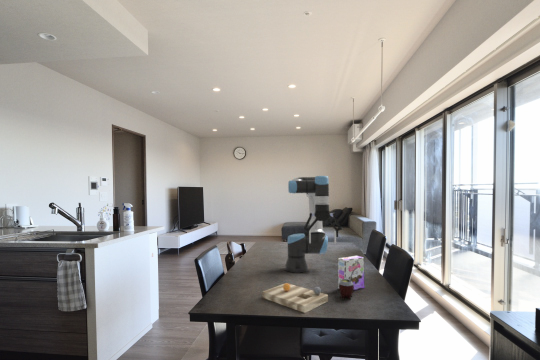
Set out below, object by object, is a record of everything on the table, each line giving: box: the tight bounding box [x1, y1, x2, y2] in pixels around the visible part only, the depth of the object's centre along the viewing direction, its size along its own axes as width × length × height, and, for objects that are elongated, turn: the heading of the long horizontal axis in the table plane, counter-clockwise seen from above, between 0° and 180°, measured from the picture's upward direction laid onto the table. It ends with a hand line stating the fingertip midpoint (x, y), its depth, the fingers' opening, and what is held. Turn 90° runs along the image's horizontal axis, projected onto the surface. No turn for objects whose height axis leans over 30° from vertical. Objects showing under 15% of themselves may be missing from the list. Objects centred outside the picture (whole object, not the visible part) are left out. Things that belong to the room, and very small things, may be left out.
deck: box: [262, 283, 329, 314], centre depth 139 cm, size 26×18×3 cm
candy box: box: [337, 255, 365, 291], centre depth 154 cm, size 14×6×16 cm, turn 117°
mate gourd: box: [339, 268, 357, 301], centre depth 142 cm, size 8×8×15 cm
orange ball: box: [283, 282, 290, 291], centre depth 143 cm, size 4×4×4 cm
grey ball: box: [312, 286, 322, 295], centre depth 137 cm, size 4×4×4 cm
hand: (322, 243), depth 157 cm, fingers open, 13 cm apart
